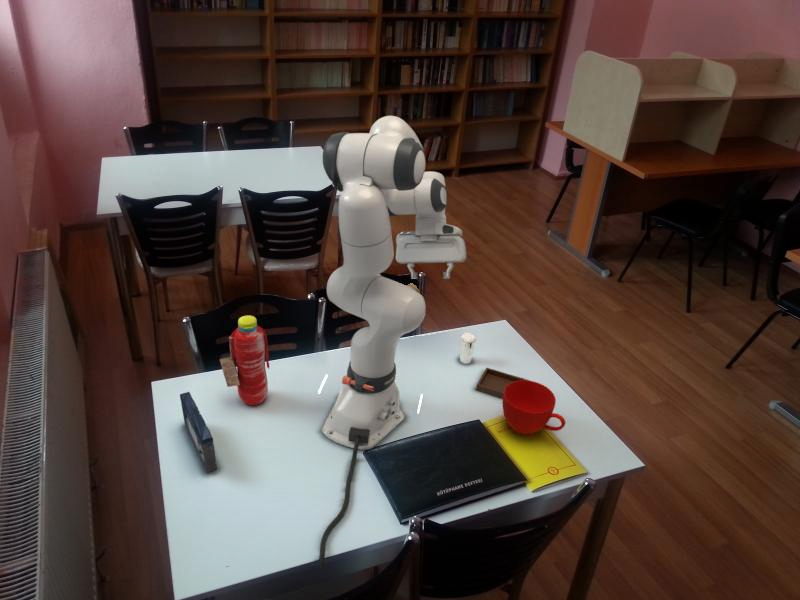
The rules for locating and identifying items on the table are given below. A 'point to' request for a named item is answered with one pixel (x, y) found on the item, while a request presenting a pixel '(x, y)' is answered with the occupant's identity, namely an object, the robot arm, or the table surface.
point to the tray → (495, 382)
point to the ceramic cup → (529, 407)
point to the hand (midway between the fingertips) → (430, 278)
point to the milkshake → (467, 347)
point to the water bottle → (247, 361)
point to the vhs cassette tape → (198, 432)
